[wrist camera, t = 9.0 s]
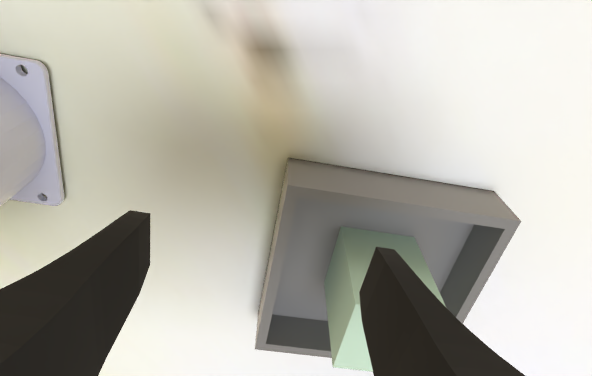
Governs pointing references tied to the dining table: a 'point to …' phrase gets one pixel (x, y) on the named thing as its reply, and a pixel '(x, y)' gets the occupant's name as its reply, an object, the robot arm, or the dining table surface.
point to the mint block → (347, 283)
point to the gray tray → (381, 218)
